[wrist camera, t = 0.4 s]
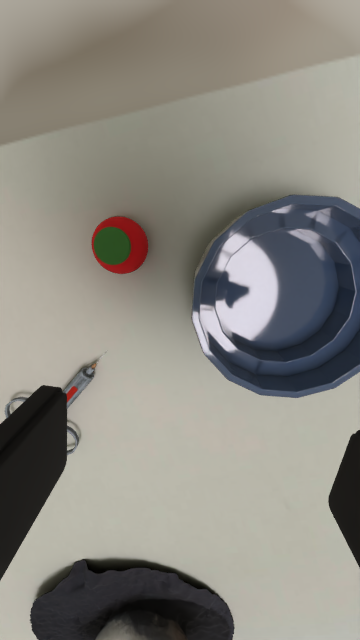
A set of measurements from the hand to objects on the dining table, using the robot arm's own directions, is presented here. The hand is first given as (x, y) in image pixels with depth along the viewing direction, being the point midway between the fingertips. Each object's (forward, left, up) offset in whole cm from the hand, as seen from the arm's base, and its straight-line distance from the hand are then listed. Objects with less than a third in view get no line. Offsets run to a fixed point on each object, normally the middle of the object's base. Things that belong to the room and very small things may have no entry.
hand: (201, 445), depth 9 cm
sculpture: (+40, -5, -15) cm, 43 cm away
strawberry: (-6, -6, -15) cm, 17 cm away
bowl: (-3, +6, -15) cm, 16 cm away
